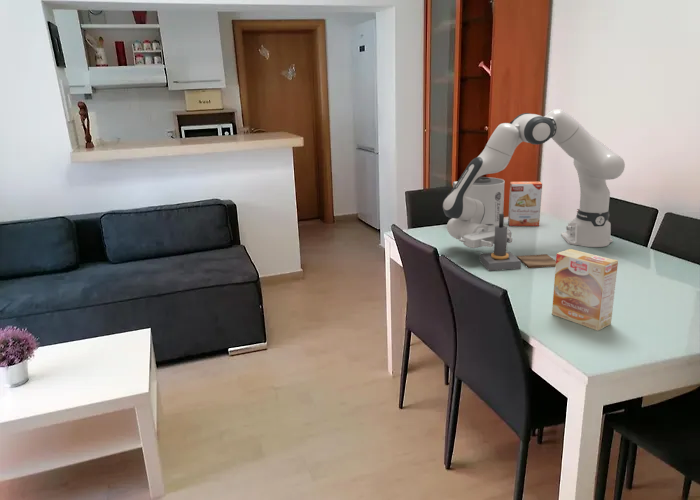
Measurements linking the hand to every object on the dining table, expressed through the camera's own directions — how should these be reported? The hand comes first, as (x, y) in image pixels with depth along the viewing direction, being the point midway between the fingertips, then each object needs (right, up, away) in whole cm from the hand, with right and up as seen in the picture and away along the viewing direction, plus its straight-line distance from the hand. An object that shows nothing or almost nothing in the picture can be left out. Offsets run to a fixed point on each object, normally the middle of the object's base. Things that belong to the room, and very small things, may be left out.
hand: (501, 242), depth 200 cm
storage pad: (+15, -7, +4) cm, 17 cm away
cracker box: (+27, +9, +56) cm, 63 cm away
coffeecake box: (+10, -23, -45) cm, 52 cm away
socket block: (0, -8, +3) cm, 9 cm away
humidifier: (+4, +9, +59) cm, 60 cm away
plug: (0, -8, +3) cm, 9 cm away
